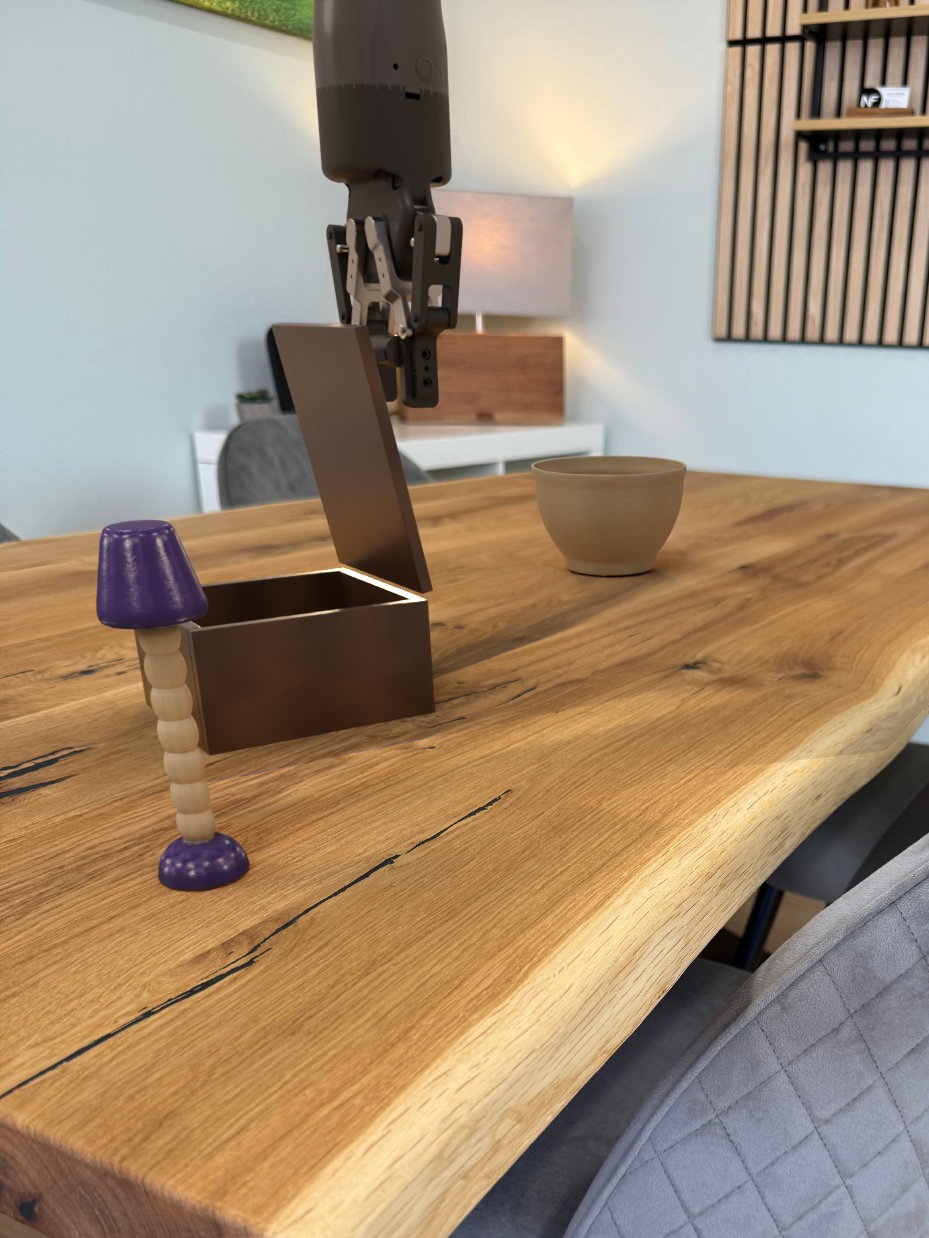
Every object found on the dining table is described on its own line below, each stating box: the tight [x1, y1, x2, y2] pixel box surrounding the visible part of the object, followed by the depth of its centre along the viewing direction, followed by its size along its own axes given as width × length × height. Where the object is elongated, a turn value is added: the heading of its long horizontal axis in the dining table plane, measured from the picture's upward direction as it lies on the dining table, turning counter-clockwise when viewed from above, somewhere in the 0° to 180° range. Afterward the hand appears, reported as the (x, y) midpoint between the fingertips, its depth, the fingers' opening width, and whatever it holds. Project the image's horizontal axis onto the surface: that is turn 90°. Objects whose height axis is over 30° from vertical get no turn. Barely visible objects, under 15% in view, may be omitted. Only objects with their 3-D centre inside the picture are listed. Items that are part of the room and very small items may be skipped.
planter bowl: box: [530, 454, 687, 577], centre depth 128 cm, size 16×16×11 cm
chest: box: [133, 567, 436, 756], centre depth 77 cm, size 15×13×9 cm
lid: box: [271, 322, 433, 595], centre depth 76 cm, size 15×13×5 cm
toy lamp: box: [95, 519, 250, 892], centre depth 55 cm, size 5×5×17 cm
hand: (400, 403), depth 76 cm, fingers closed on lid, 5 cm apart
